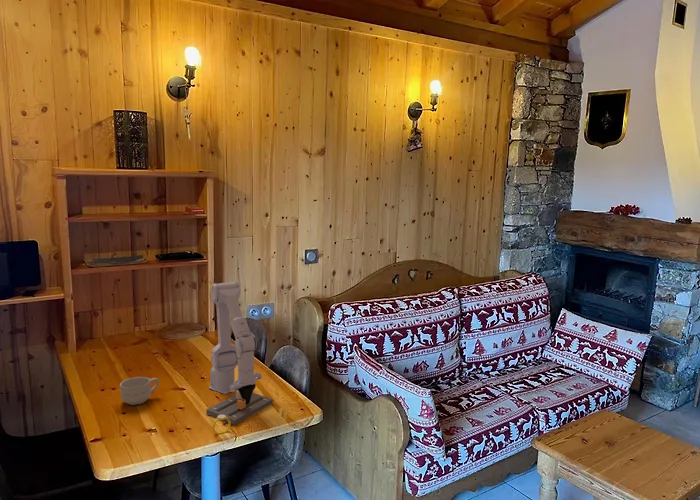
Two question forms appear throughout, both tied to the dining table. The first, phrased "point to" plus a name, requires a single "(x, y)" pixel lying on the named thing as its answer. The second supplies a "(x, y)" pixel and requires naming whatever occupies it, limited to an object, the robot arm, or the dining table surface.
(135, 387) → the teacup
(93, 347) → the dining table surface
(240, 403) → the fader orange
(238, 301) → the robot arm
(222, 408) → the fader panel
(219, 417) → the watch
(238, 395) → the fader ivory
